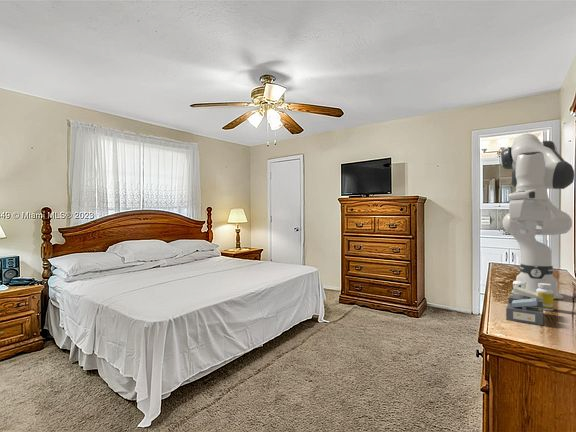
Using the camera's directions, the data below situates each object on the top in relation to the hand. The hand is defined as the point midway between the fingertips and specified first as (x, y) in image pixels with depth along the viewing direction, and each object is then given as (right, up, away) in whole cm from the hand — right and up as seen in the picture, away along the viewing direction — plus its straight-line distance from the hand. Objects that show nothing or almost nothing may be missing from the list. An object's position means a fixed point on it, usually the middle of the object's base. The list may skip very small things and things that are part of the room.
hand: (531, 233), depth 115 cm
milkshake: (+10, -30, +20) cm, 38 cm away
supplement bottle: (+13, -30, +10) cm, 34 cm away
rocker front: (-5, -24, -3) cm, 25 cm away
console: (-2, -30, 0) cm, 30 cm away
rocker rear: (+1, -22, +4) cm, 23 cm away
